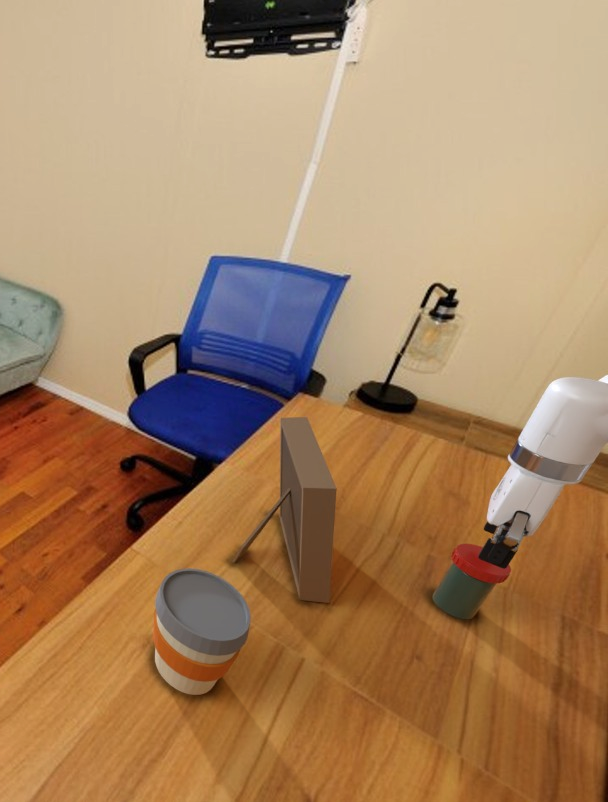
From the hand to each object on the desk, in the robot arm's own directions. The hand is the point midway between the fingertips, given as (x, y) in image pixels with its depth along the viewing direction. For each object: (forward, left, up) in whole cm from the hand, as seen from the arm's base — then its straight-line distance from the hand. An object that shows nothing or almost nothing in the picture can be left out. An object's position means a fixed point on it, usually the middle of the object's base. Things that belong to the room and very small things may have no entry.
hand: (493, 547), depth 81 cm
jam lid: (0, 0, -3) cm, 3 cm away
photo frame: (+28, +2, -14) cm, 32 cm away
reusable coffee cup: (+38, +35, -14) cm, 54 cm away
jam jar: (0, 0, -14) cm, 14 cm away
